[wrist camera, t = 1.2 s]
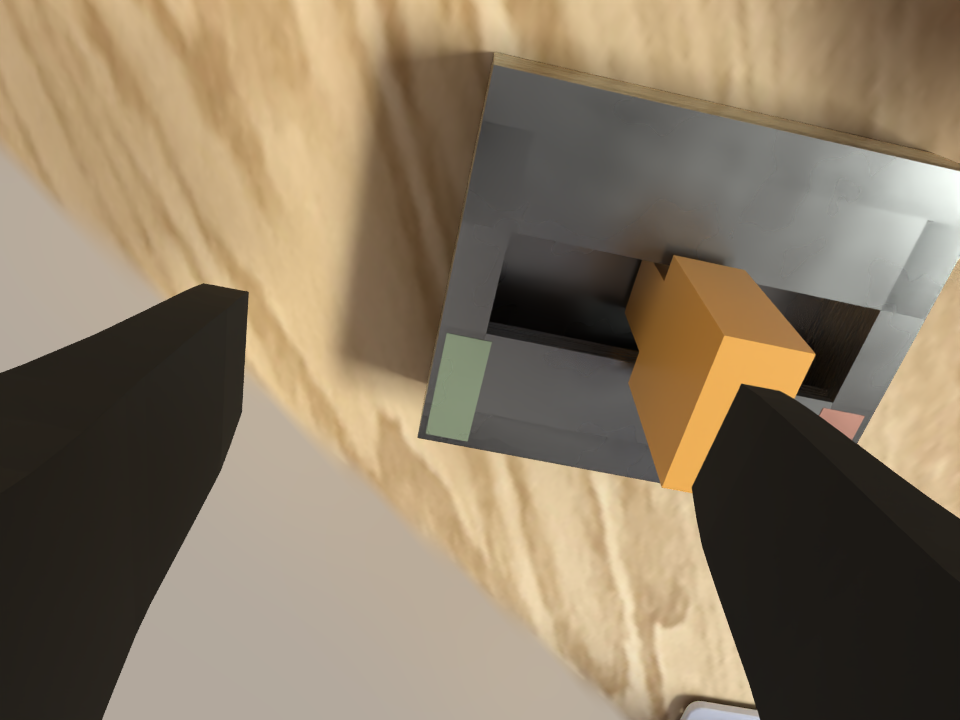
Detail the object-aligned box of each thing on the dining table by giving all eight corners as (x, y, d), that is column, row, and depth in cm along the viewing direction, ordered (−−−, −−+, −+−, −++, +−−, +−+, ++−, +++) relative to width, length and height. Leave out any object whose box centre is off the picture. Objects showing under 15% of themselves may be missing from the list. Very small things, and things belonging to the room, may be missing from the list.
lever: (671, 347, 22) (744, 502, 15) (613, 336, 21) (662, 487, 15) (714, 233, 20) (815, 354, 14) (651, 220, 20) (724, 335, 13)
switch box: (783, 453, 24) (819, 513, 21) (426, 384, 23) (417, 437, 20) (933, 153, 19) (1001, 180, 17) (494, 51, 18) (494, 64, 16)
